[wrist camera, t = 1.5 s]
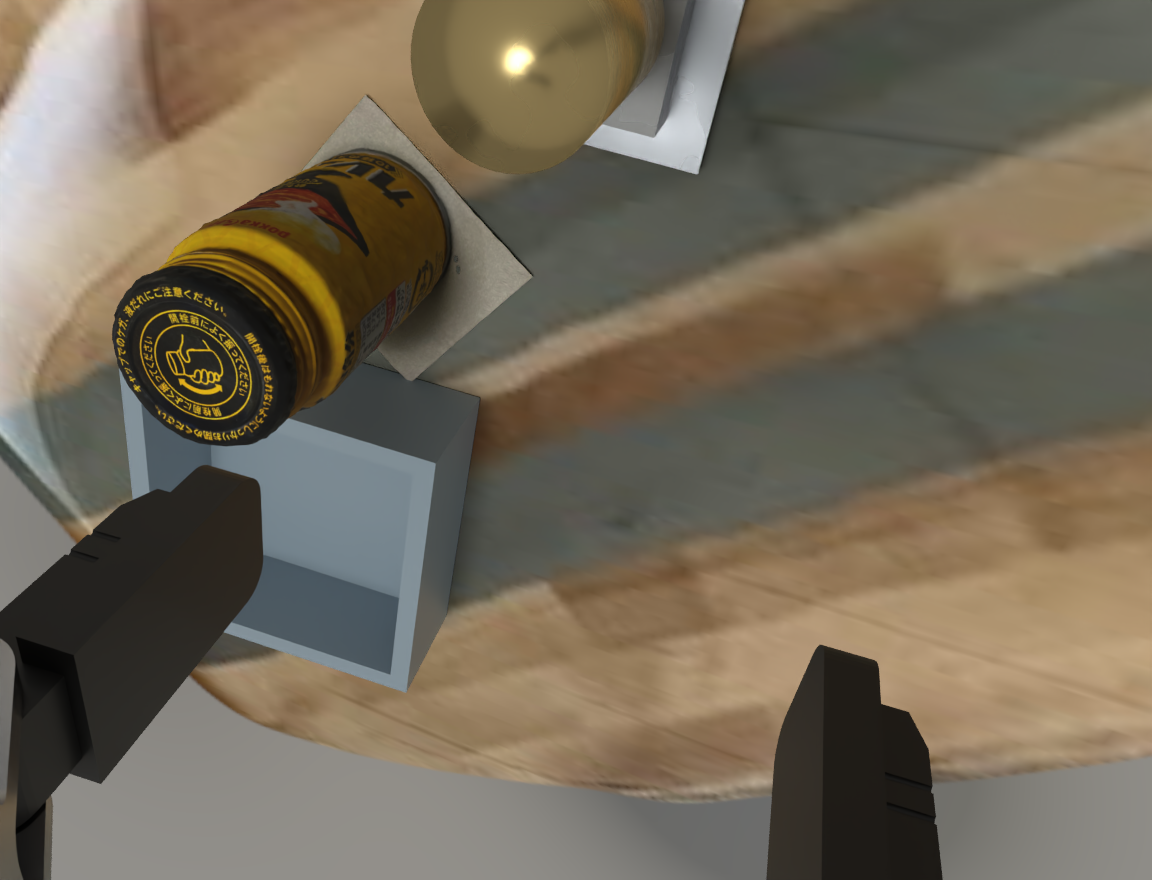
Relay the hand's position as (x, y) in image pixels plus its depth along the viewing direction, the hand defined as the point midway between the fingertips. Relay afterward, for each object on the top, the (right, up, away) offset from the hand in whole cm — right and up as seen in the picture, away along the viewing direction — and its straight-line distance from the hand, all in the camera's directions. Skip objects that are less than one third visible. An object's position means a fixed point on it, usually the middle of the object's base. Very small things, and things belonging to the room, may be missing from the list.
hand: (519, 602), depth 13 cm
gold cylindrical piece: (+2, +15, +15) cm, 21 cm away
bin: (-10, +1, +28) cm, 30 cm away
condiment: (-6, +10, +22) cm, 25 cm away
